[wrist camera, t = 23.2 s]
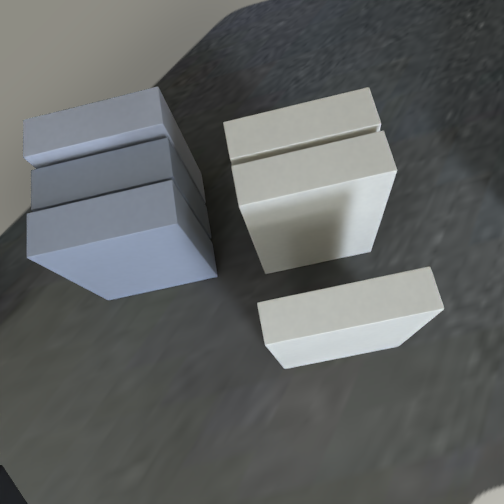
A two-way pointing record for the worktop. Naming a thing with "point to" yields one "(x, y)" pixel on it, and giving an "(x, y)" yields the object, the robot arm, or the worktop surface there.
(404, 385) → the worktop surface
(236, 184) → the white books
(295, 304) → the thin white book
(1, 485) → the robot arm
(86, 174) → the grey books
